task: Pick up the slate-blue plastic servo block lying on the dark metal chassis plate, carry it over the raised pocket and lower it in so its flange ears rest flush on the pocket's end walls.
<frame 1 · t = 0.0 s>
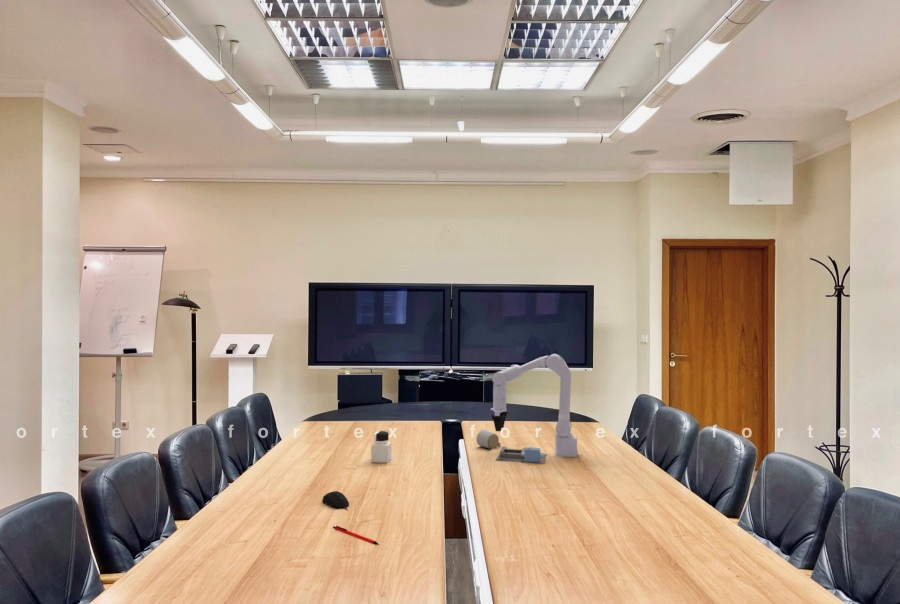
hand: (499, 429, 252), 10 cm above the table, fingers open, 7 cm apart
gaming mouse: (337, 506, 184), on the table
pen: (355, 537, 159), on the table
servo: (532, 460, 234), point 1 cm above the table, touching chassis
chassis: (521, 459, 240), on the table
ceramic mug: (489, 447, 261), on the table
medicine bottle: (381, 460, 238), on the table
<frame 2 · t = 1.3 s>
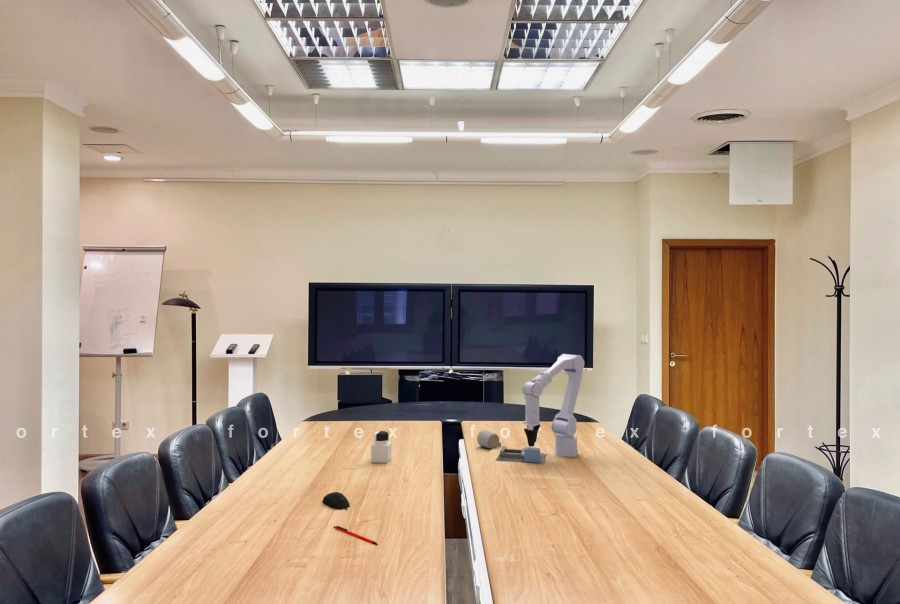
hand: (532, 444, 234), 8 cm above the table, fingers open, 7 cm apart
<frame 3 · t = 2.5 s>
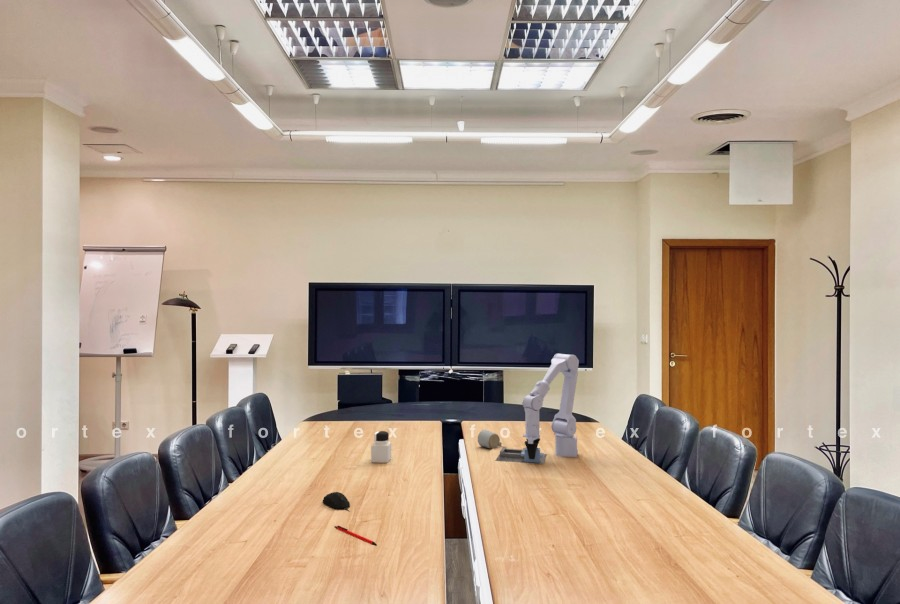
hand: (532, 457, 234), 2 cm above the table, fingers closed on servo, 4 cm apart
servo: (532, 460, 234), point 1 cm above the table, touching chassis, gripper
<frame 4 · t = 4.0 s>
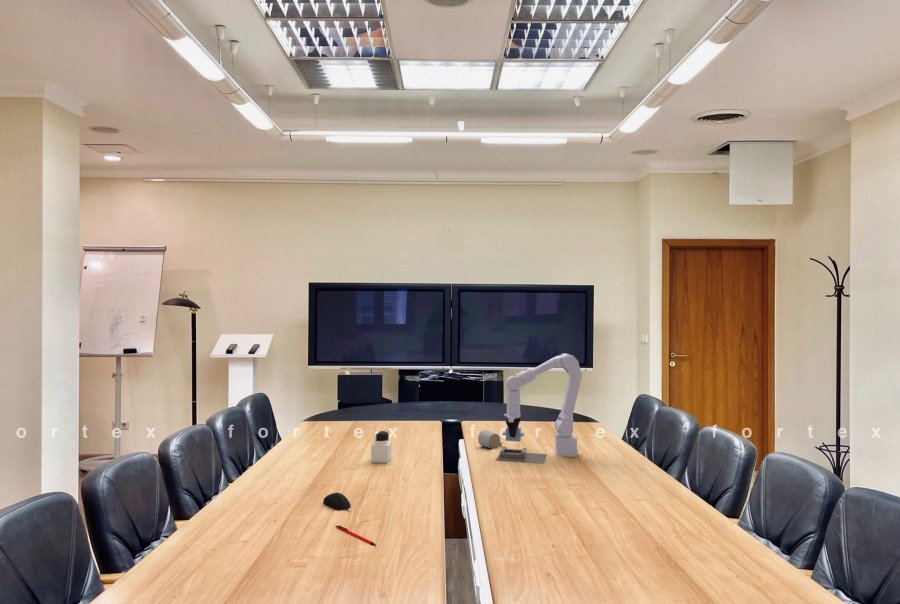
hand: (513, 435, 244), 9 cm above the table, fingers closed on servo, 4 cm apart
servo: (513, 440, 244), point 7 cm above the table, touching gripper
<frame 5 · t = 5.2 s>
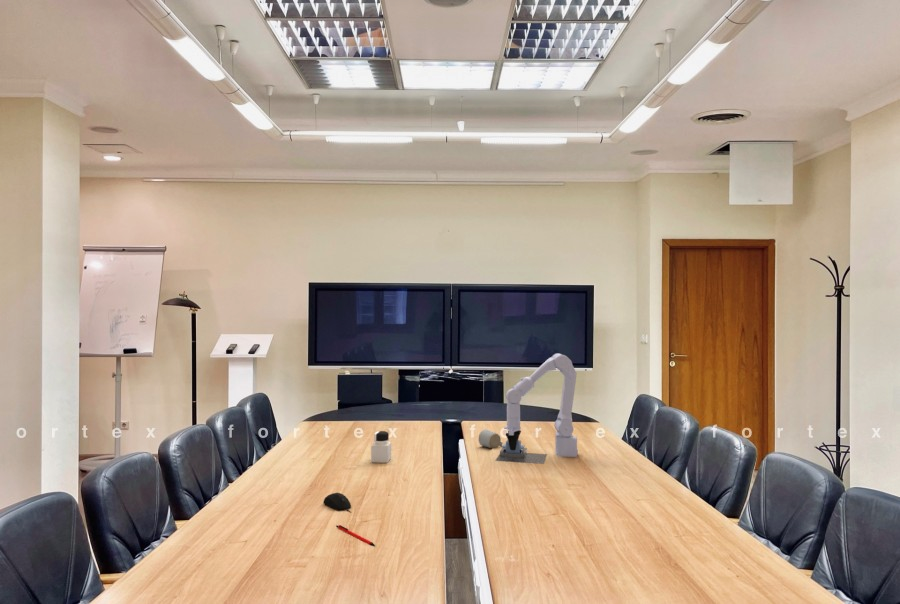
hand: (513, 448, 244), 3 cm above the table, fingers closed on servo, 4 cm apart
servo: (513, 452, 244), point 2 cm above the table, touching gripper
when the fingers open (3 cm above the table, at t = 5.2 s): servo stays where it is, resting on chassis.
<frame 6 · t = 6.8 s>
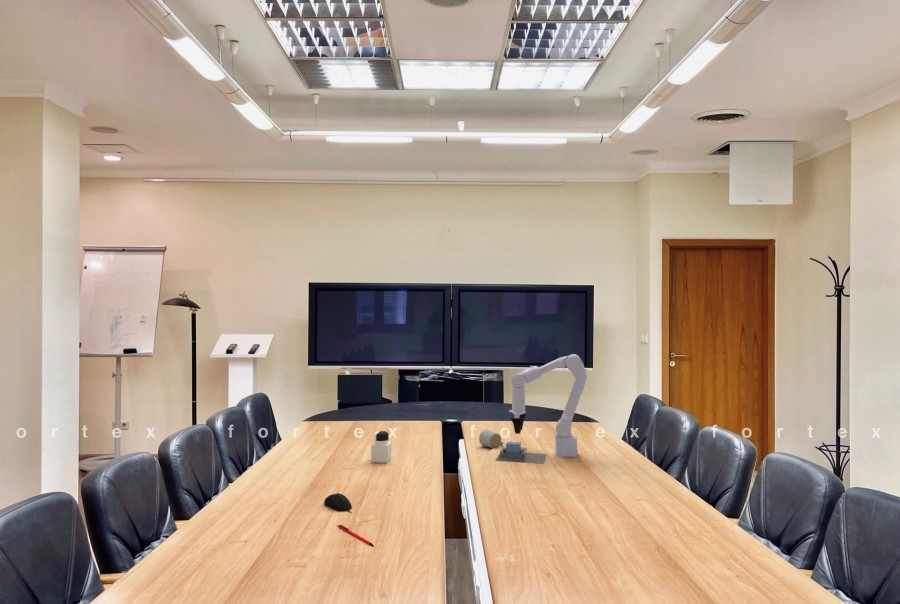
hand: (518, 431, 250), 10 cm above the table, fingers open, 7 cm apart
servo: (513, 454, 244), point 1 cm above the table, touching chassis
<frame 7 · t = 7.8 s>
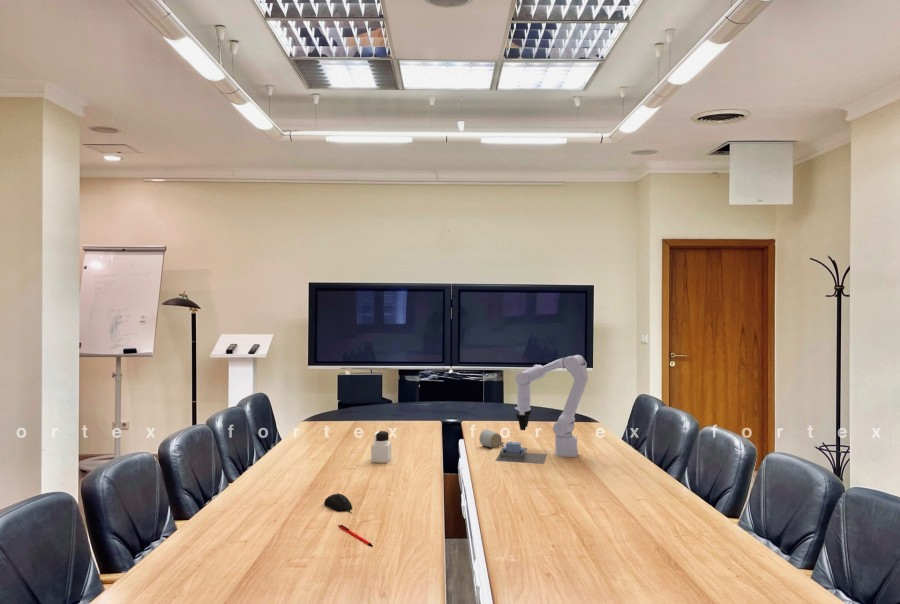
hand: (523, 428, 255), 10 cm above the table, fingers open, 7 cm apart
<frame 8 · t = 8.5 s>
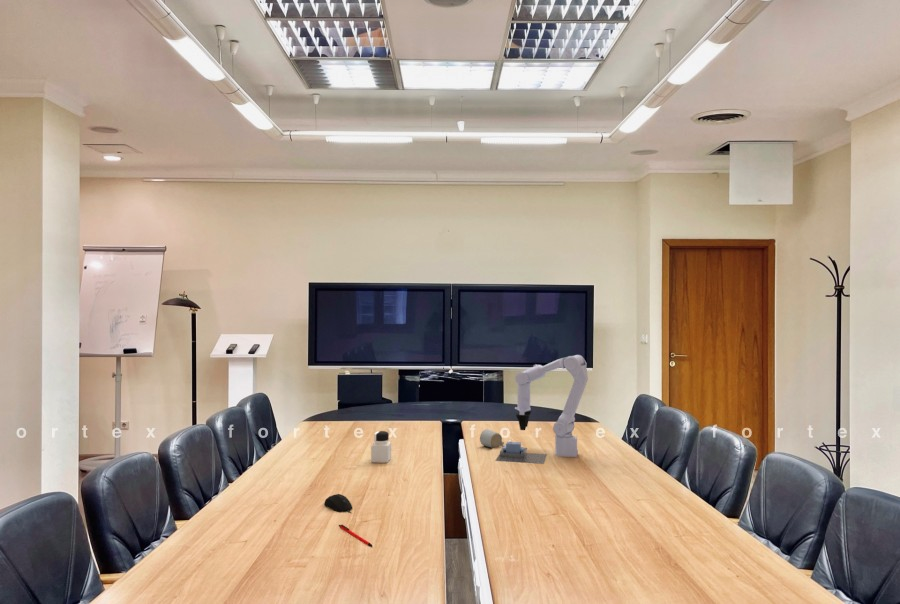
hand: (523, 428, 255), 10 cm above the table, fingers open, 7 cm apart
at the end: servo 0.0 cm from the target spot on the chassis, point 0.8 cm above the chassis's base; servo tilted 0°; the gripper is holding nothing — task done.
